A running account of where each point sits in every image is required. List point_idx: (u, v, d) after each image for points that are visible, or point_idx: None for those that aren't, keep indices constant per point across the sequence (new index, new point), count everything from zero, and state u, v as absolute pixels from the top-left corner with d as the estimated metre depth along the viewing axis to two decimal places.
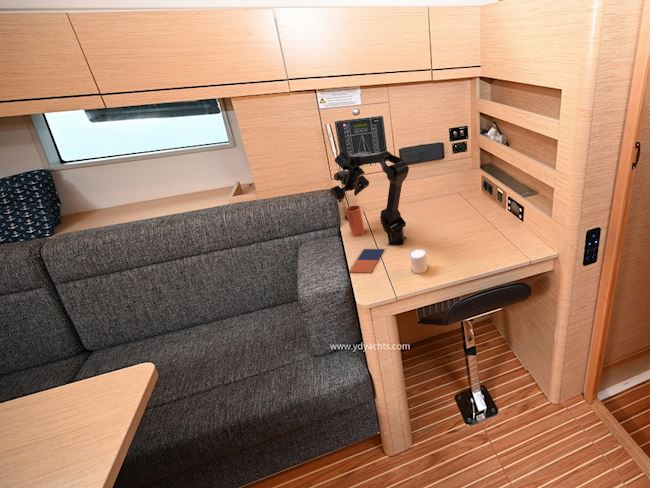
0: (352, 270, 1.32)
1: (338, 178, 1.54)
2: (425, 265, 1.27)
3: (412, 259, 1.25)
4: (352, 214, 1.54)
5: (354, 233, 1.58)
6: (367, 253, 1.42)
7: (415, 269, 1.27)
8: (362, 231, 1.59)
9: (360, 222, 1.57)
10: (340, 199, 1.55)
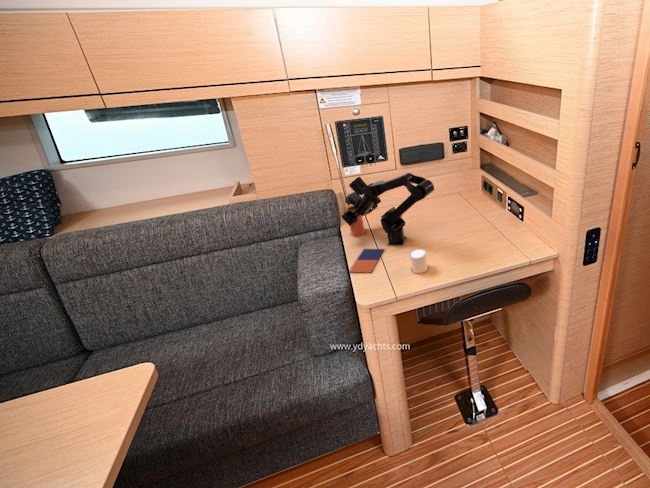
0: (352, 270, 1.32)
1: (350, 202, 1.50)
2: (425, 265, 1.27)
3: (412, 259, 1.25)
4: None
5: (354, 233, 1.58)
6: (367, 253, 1.42)
7: (415, 269, 1.27)
8: (362, 231, 1.59)
9: (360, 222, 1.57)
10: None
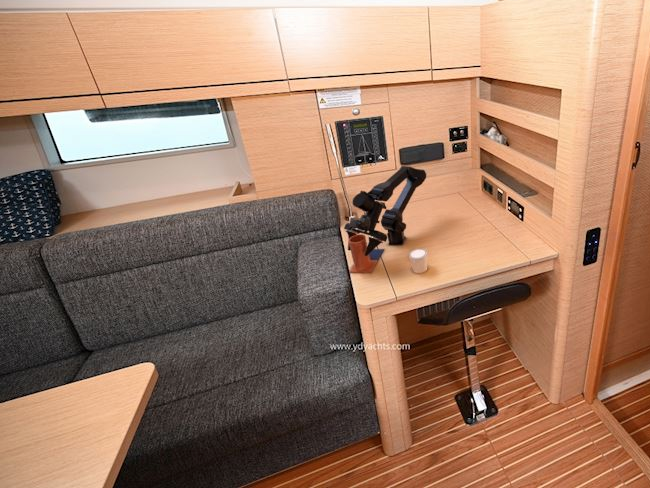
0: (352, 270, 1.32)
1: None
2: (425, 265, 1.27)
3: (412, 259, 1.25)
4: (366, 241, 1.30)
5: (369, 264, 1.32)
6: None
7: (415, 269, 1.27)
8: None
9: None
10: (375, 246, 1.29)
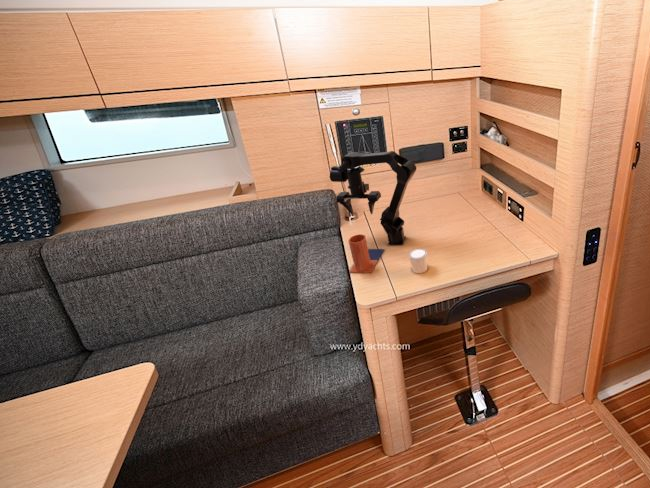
0: (352, 270, 1.32)
1: None
2: (425, 265, 1.27)
3: (412, 259, 1.25)
4: (366, 241, 1.30)
5: (369, 264, 1.32)
6: None
7: (415, 269, 1.27)
8: None
9: None
10: None
